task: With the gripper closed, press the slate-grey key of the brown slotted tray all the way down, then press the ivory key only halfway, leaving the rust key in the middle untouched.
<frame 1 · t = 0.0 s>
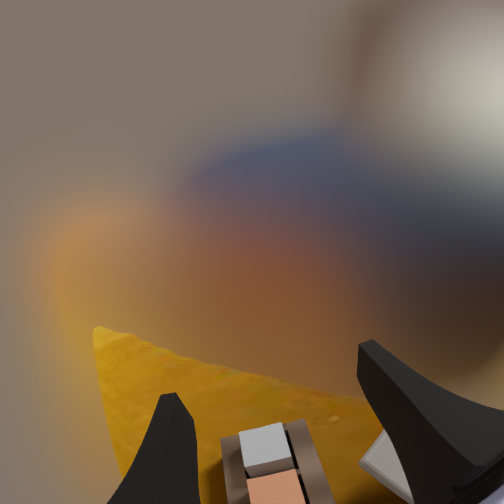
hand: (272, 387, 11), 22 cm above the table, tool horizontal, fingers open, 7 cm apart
slate key: (266, 451, 24), point 4 cm above the table, slide at 0.0 cm
rust key: (278, 499, 19), point 4 cm above the table, slide at 0.0 cm
light switch: (428, 483, 19), on the table
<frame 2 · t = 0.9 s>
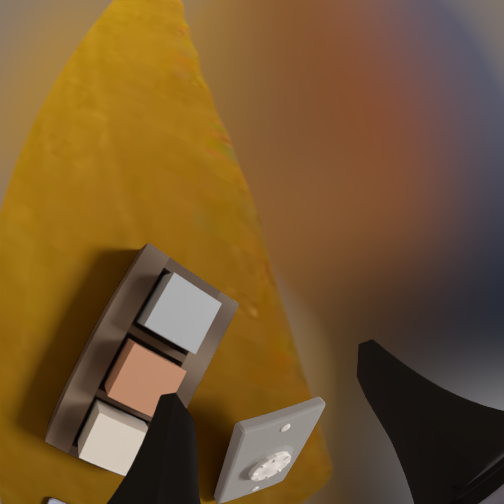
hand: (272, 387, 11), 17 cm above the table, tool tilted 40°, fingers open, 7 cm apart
brown slotted tray: (133, 366, 23), on the table
slate key: (178, 313, 22), point 4 cm above the table, slide at 0.0 cm
rust key: (143, 378, 20), point 4 cm above the table, slide at 0.0 cm
light switch: (242, 444, 27), on the table
ivory key: (113, 439, 17), point 4 cm above the table, slide at 0.0 cm
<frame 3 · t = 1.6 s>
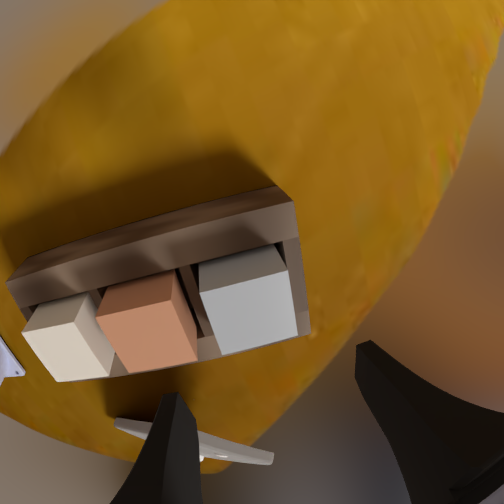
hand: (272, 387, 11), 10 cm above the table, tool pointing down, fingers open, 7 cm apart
brown slotted tray: (157, 283, 20), on the table
slate key: (248, 299, 16), point 4 cm above the table, slide at 0.0 cm
rust key: (150, 323, 16), point 4 cm above the table, slide at 0.0 cm
light switch: (181, 407, 26), on the table
ivory key: (70, 339, 16), point 4 cm above the table, slide at 0.0 cm
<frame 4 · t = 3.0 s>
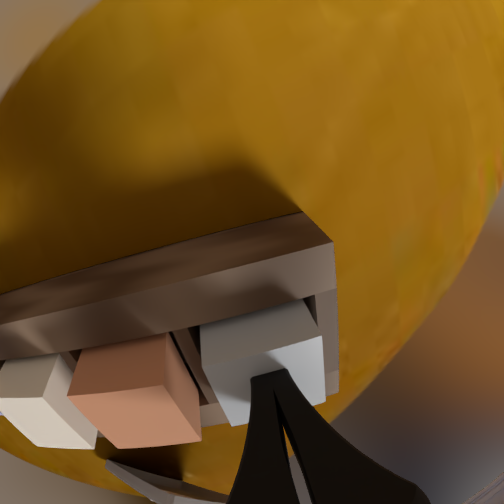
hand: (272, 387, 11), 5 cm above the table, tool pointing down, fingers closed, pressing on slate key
brown slotted tray: (147, 333, 15), on the table
slate key: (264, 361, 12), point 4 cm above the table, slide at 0.5 cm, touching gripper
rust key: (139, 395, 11), point 4 cm above the table, slide at 0.0 cm
light switch: (175, 450, 21), on the table
ivory key: (45, 403, 11), point 4 cm above the table, slide at 0.0 cm
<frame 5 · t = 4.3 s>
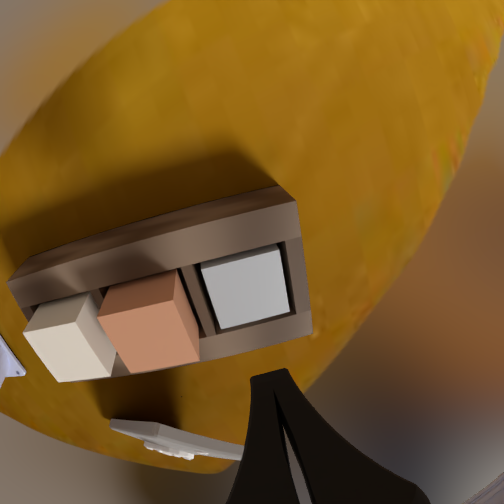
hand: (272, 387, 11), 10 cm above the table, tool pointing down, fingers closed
brown slotted tray: (159, 283, 20), on the table
slate key: (244, 278, 18), point 2 cm above the table, slide at 2.2 cm
rust key: (151, 323, 16), point 4 cm above the table, slide at 0.0 cm
light switch: (171, 405, 26), on the table
ivory key: (72, 339, 16), point 4 cm above the table, slide at 0.0 cm
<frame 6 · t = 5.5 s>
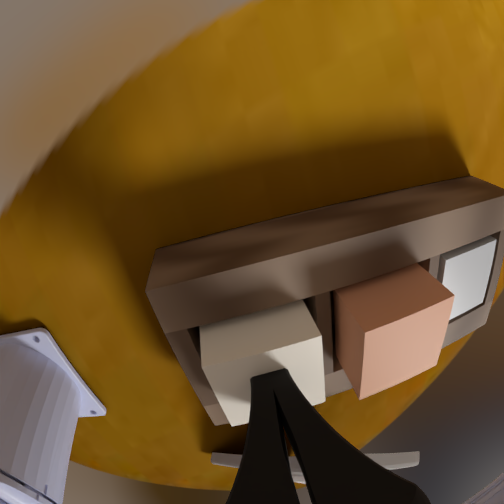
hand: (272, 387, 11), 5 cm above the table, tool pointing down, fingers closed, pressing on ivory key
brown slotted tray: (350, 281, 16), on the table
slate key: (450, 270, 14), point 2 cm above the table, slide at 2.2 cm
rust key: (390, 330, 12), point 4 cm above the table, slide at 0.0 cm
light switch: (293, 424, 22), on the table
ivory key: (264, 361, 12), point 4 cm above the table, slide at 0.5 cm, touching gripper
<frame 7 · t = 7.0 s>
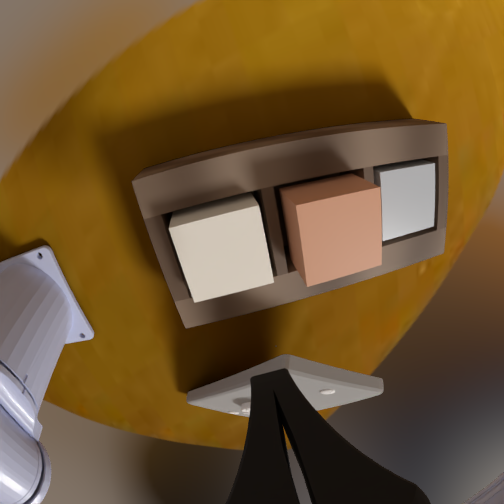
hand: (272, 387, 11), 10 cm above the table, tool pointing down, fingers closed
brown slotted tray: (305, 202, 19), on the table
slate key: (396, 194, 17), point 2 cm above the table, slide at 2.2 cm
rust key: (331, 226, 15), point 4 cm above the table, slide at 0.0 cm
light switch: (262, 360, 25), on the table
ivory key: (221, 244, 16), point 3 cm above the table, slide at 1.1 cm
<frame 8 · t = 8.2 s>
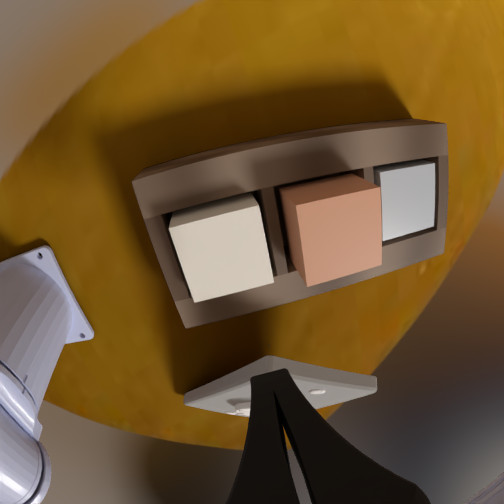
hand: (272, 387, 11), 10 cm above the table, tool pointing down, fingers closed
brown slotted tray: (305, 202, 19), on the table
slate key: (396, 194, 17), point 2 cm above the table, slide at 2.2 cm
rust key: (331, 226, 15), point 4 cm above the table, slide at 0.0 cm
light switch: (256, 360, 25), on the table
ivory key: (221, 244, 16), point 3 cm above the table, slide at 1.1 cm
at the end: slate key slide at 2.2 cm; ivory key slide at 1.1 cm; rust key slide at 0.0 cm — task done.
